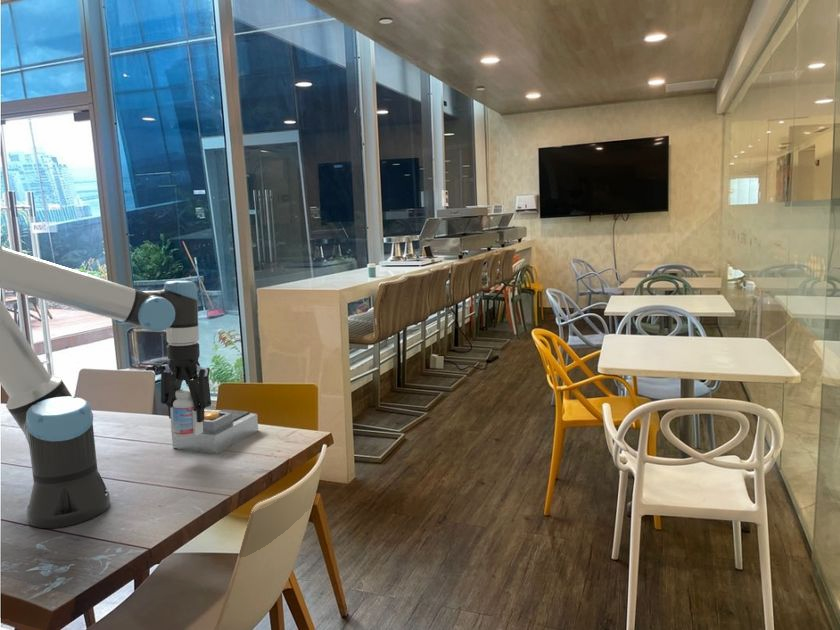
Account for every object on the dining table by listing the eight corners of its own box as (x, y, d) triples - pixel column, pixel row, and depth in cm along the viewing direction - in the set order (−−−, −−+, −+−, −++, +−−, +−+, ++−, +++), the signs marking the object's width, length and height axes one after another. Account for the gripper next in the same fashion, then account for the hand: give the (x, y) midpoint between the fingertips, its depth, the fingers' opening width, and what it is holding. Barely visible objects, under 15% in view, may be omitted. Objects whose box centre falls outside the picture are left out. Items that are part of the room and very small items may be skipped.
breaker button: (213, 444, 165) (211, 417, 164) (200, 443, 166) (198, 416, 165) (224, 439, 169) (222, 412, 168) (210, 437, 170) (208, 411, 169)
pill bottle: (182, 439, 152) (180, 395, 150) (169, 434, 156) (167, 391, 154) (204, 433, 157) (202, 390, 155) (190, 428, 160) (189, 386, 159)
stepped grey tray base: (216, 453, 161) (214, 424, 159) (172, 448, 165) (170, 419, 164) (258, 430, 178) (256, 403, 177) (217, 426, 183) (216, 400, 182)
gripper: (224, 342, 154) (228, 432, 157) (163, 338, 160) (167, 424, 163) (205, 348, 147) (208, 441, 150) (141, 342, 153) (146, 432, 156)
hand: (187, 432), depth 156 cm, fingers closed on pill bottle, 6 cm apart
